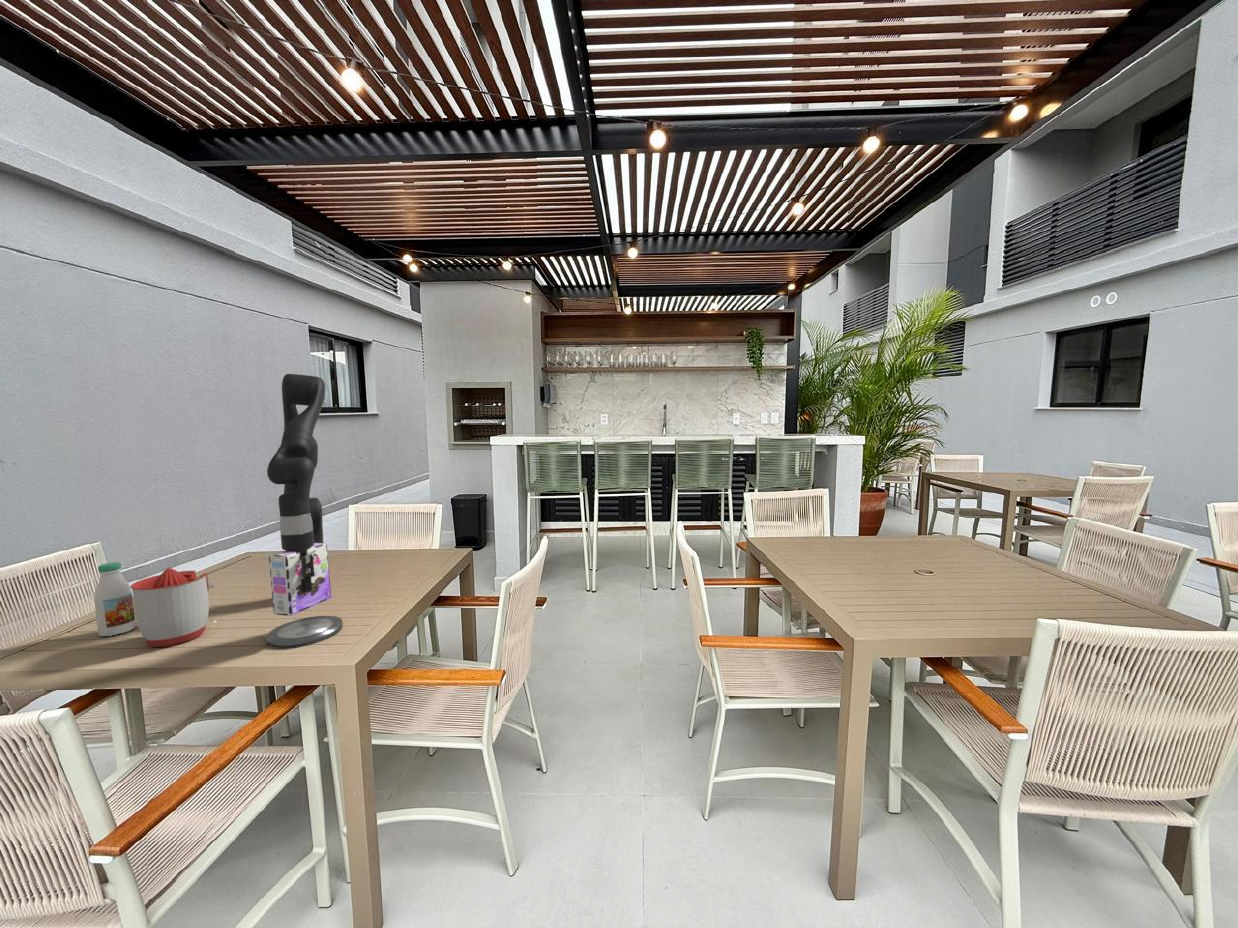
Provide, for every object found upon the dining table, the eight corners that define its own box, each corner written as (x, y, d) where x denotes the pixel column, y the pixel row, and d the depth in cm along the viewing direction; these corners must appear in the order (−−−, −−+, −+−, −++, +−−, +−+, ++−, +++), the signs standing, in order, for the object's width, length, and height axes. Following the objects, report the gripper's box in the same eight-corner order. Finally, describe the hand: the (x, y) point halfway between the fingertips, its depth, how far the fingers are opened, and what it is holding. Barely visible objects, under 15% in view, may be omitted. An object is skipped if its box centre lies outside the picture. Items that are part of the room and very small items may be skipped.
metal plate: (258, 635, 139) (257, 630, 139) (329, 615, 152) (328, 610, 152) (278, 654, 127) (277, 648, 127) (353, 630, 141) (352, 625, 140)
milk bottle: (93, 640, 139) (84, 569, 137) (105, 630, 146) (97, 562, 144) (130, 633, 143) (121, 565, 141) (140, 624, 150) (132, 558, 148)
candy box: (291, 616, 132) (285, 555, 130) (272, 615, 133) (267, 554, 132) (332, 598, 145) (327, 542, 144) (315, 596, 147) (310, 541, 145)
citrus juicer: (232, 629, 144) (225, 561, 142) (156, 655, 128) (147, 579, 127) (201, 621, 151) (193, 556, 149) (125, 645, 135) (116, 573, 133)
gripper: (272, 529, 139) (278, 587, 141) (289, 536, 130) (295, 598, 131) (303, 524, 145) (308, 580, 146) (321, 531, 135) (326, 590, 137)
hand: (302, 588), depth 139 cm, fingers closed on candy box, 7 cm apart
